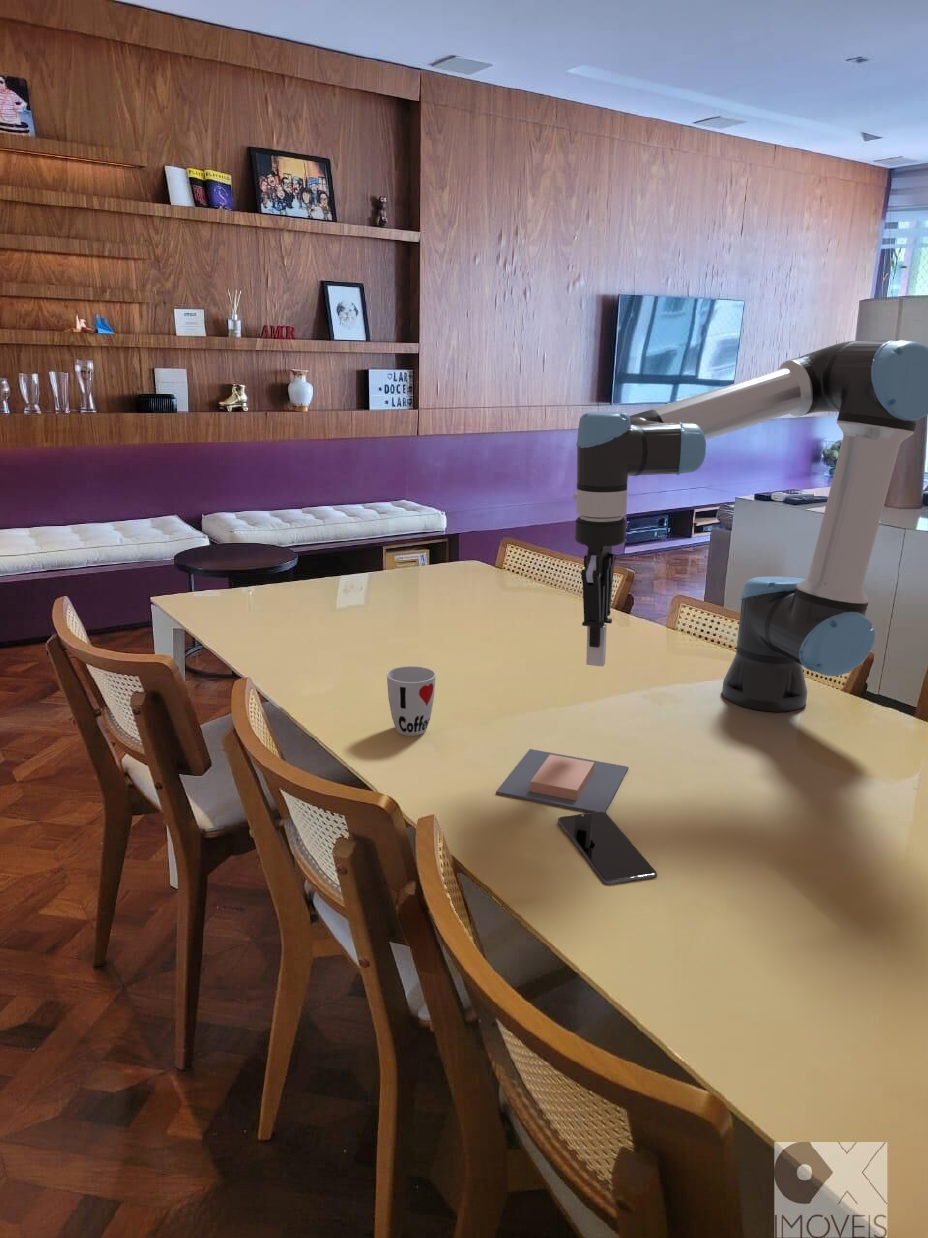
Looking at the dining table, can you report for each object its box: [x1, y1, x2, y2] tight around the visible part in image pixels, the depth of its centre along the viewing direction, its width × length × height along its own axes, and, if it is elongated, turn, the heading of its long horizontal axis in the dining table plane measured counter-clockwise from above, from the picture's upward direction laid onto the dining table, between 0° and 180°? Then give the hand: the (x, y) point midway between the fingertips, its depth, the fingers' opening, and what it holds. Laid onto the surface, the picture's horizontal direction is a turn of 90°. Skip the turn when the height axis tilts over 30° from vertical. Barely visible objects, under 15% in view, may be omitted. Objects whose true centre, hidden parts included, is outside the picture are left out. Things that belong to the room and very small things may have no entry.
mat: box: [495, 748, 630, 814], centre depth 136 cm, size 16×16×1 cm
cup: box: [386, 665, 437, 737], centre depth 152 cm, size 8×8×10 cm
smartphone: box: [557, 812, 658, 886], centre depth 118 cm, size 7×1×16 cm
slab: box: [530, 754, 594, 801], centre depth 135 cm, size 7×2×10 cm
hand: (595, 664), depth 144 cm, fingers closed
